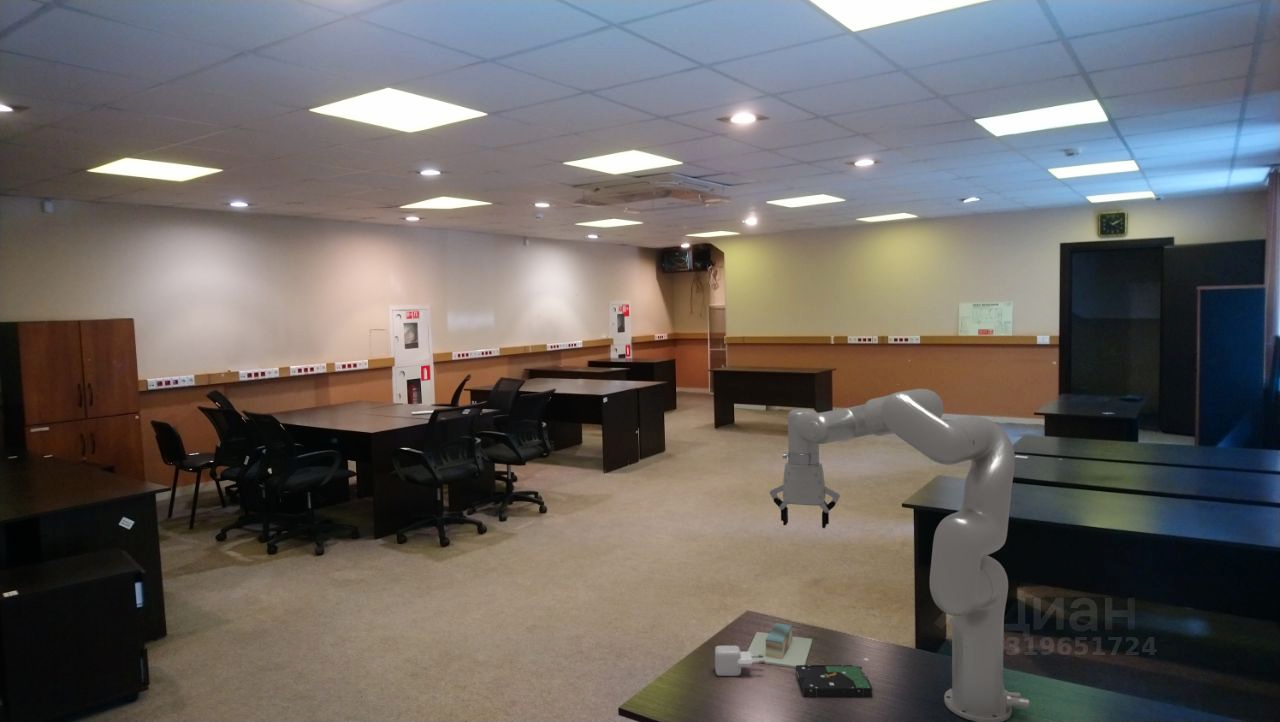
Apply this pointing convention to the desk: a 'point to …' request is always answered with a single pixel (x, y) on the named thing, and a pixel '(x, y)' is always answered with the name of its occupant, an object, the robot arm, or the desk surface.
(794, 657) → the mat
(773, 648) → the teal-faced wooden block
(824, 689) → the disk drive
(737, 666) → the power adapter
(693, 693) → the desk surface
